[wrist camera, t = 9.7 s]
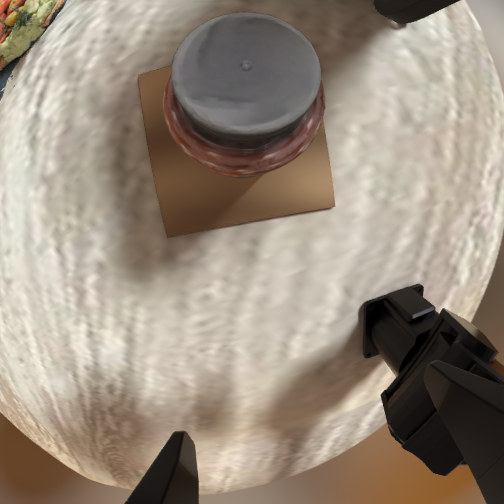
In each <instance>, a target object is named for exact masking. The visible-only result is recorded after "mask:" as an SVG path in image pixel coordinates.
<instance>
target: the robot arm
mask: <svg viewBox="0 0 504 504" xmlns="http://www.w3.org/2000/svg"><path fill="white" fill-rule="evenodd" d="M418 289H419V290H418ZM423 291H424V287H423V286H422V285H421V284H416V285H413V286H410V287H406V288H403V289H400V290H398V291H395V292H392V293H389V294H387V295H384V296H381V297H378V298H375V299H372V300H369V301H367V302H366V303H365V305H364V335H363V356H364V357H365V358H370V357H373V356H376V355H378V354H380V355H381V357H382V358H383V359H384V361H385V362H386V363H387V365H388V366H389V368H390V369H391V370H392V372H393V373H394V374H395V376H396V379H395V380H394V381H393V382H392V383H391V385H390V386H389V387H388V388H387V389H386V390H384V391H383V393H382V394H381V399H382V403H383V407H384V411H385V415H386V419H387V423H388V428H389V430H390V433H391V435H392V436H393V437H394V438H395V440H397V441H398V442H399V443H400V444H401V445H402V447H403V449H405V450H407V451H409V452H411V453H413V454H414V455H415V456H417V457H418V458H419V459H421V460H422V461H423V462H424V463H425V465H426V466H427V467H428V468H429V469H430V470H431V471H432V472H433V473H435V474H439V475H443V476H446V475H448V474H449V473H450V472H451V471H453V470H454V469H455V468H456V467H457V466H459V465H468V466H469V468H470V470H471V472H472V474H473V476H474V478H475V479H476V482H477V484H478V486H479V488H480V490H481V493H482V495H483V497H484V499H485V501H486V503H487V504H504V366H503V365H502V364H501V363H500V362H498V361H497V360H496V359H495V358H496V357H497V355H498V353H499V352H498V351H497V349H496V348H495V347H494V345H493V344H492V343H491V342H490V340H489V339H488V338H487V337H486V336H485V334H484V333H483V332H481V331H480V330H479V329H477V328H476V327H475V326H474V325H472V324H471V323H470V322H468V321H467V320H465V319H463V318H461V317H460V316H458V315H456V314H454V313H452V312H450V311H448V310H446V309H445V308H443V309H442V310H441V312H440V314H439V313H438V312H436V311H435V306H433V305H432V304H431V303H430V302H428V301H427V300H426V299H425V298H423ZM370 305H371V307H370V308H369V306H370ZM198 499H199V480H198V470H197V461H196V451H195V444H194V442H193V440H192V439H191V438H190V436H189V435H188V433H187V432H186V431H175V432H173V434H172V435H171V437H170V438H169V440H168V441H167V443H166V444H165V446H164V447H163V449H162V450H161V452H160V453H159V455H158V456H157V458H156V459H155V460H154V462H153V463H152V465H151V466H150V468H149V469H148V471H147V472H146V474H145V475H144V476H143V478H142V479H141V481H140V482H139V484H138V485H137V487H136V488H135V489H134V491H133V492H132V494H131V495H130V497H129V498H128V501H126V502H125V503H124V504H199V500H198Z"/></svg>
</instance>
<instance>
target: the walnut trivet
mask: <svg viewBox="0 0 504 504" xmlns="http://www.w3.org/2000/svg"><path fill="white" fill-rule="evenodd" d="M171 69H172V66H168V67H164V68H161V69H157V70H154V71H150V72H147V73H144V74H140V75H138V79H139V88H140V96H141V104H142V111H143V118H144V125H145V131H146V137H147V143H148V149H149V155H150V160H151V166H152V171H153V176H154V181H155V186H156V191H157V195H158V200H159V204H160V209H161V213H162V218H163V222H164V226H165V230H166V234H167V238H169V237H174V236H178V235H183V234H188V233H193V232H198V231H203V230H208V229H213V228H218V227H223V226H228V225H233V224H239V223H244V222H249V221H255V220H260V219H266V218H271V217H277V216H282V215H288V214H294V213H300V212H306V211H312V210H318V209H324V208H330V207H335V200H334V191H333V183H332V175H331V167H330V160H329V153H328V147H327V141H326V135H325V129H324V123H323V120H322V124H321V126H320V129H319V131H318V132H317V134H316V136H315V138H314V139H313V141H312V142H311V144H310V145H309V146H308V148H307V149H306V150H305V151H304V152H303V153H302V154H300V155H299V156H298V157H297V158H295V159H294V160H293V161H291V162H290V163H288V164H286V165H285V166H282V167H280V168H278V169H276V170H273V171H271V172H268V173H266V174H262V175H258V176H254V177H249V178H234V177H229V176H225V175H222V174H220V173H217V172H214V171H212V170H209V169H207V168H205V167H204V166H202V165H200V164H198V163H197V162H195V161H194V160H193V159H191V158H190V157H189V156H188V155H187V154H186V153H185V152H184V151H183V150H182V149H181V148H180V147H179V146H178V144H177V143H176V142H175V140H174V139H173V137H172V135H171V134H170V132H169V129H168V127H167V124H166V121H165V118H164V111H163V94H164V89H165V85H166V82H167V79H168V77H169V75H170V73H171Z"/></svg>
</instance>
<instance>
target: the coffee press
mask: <svg viewBox="0 0 504 504" xmlns="http://www.w3.org/2000/svg"><path fill="white" fill-rule="evenodd" d="M458 1H460V0H374V5H375V8H376V10H377V11H378V12H379V13H380V14H381V15H383V16H385V17H387V18H389V19H391V20H393V21H395V22H397V23H401V24H406V23H411V22H414V21H417V20H420V19H422V18H425V17H427V16H429V15H431V14H433V13H435V12H437V11H439V10H441V9H443V8H445V7H447V6H449V5H451V4H454V3H456V2H458Z"/></svg>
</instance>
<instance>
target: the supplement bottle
mask: <svg viewBox="0 0 504 504" xmlns="http://www.w3.org/2000/svg"><path fill="white" fill-rule="evenodd" d="M324 110H325V96H324V90H323V86H322V82H321V68H320V62H319V59H318V57H317V54H316V52H315V50H314V48H313V46H312V44H311V43H310V42H309V40H308V39H307V38H306V37H305V36H304V35H303V34H302V33H301V32H300V31H299V30H297V29H296V28H295V27H294V26H292V25H291V24H289V23H287V22H285V21H283V20H281V19H279V18H276V17H273V16H271V15H266V14H261V13H250V12H243V13H238V12H236V13H232V14H227V15H222V16H219V17H216V18H213V19H211V20H209V21H207V22H205V23H203V24H202V25H200V26H198V27H197V28H196V29H195V30H194V31H192V32H191V33H190V34H189V35H188V36H187V37H186V38H185V39H184V41H183V42H182V44H181V45H180V46H179V48H178V49H177V52H176V53H175V56H174V58H173V63H172V69H171V73H170V75H169V77H168V79H167V82H166V85H165V89H164V94H163V111H164V118H165V121H166V124H167V127H168V129H169V132H170V134H171V135H172V137H173V139H174V140H175V142H176V143H177V144H178V146H179V147H180V148H181V149H182V150H183V151H184V152H185V153H186V154H187V155H188V156H189V157H190V158H191V159H193V160H194V161H195V162H197V163H198V164H200V165H202V166H204V167H205V168H207V169H209V170H212V171H214V172H217V173H220V174H222V175H225V176H229V177H234V178H249V177H254V176H258V175H262V174H266V173H268V172H271V171H273V170H276V169H278V168H280V167H282V166H285V165H286V164H288V163H290V162H291V161H293V160H294V159H295V158H297V157H298V156H299V155H300V154H302V153H303V152H304V151H305V150H306V149H307V148H308V146H309V145H310V144H311V142H312V141H313V139H314V138H315V136H316V134H317V132H318V131H319V129H320V126H321V124H322V120H323V115H324Z"/></svg>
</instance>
